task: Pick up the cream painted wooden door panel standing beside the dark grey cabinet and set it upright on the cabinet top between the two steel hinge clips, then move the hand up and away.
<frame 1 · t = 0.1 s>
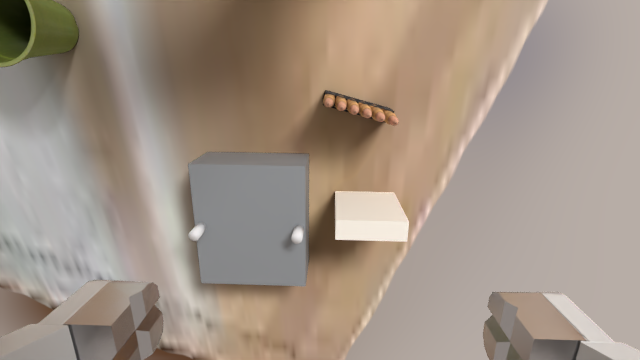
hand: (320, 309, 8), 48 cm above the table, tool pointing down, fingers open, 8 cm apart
plant pot: (58, 27, 52), on the table
ammunition clip: (356, 104, 54), on the table
door panel: (364, 199, 58), on the table
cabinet: (260, 208, 60), on the table
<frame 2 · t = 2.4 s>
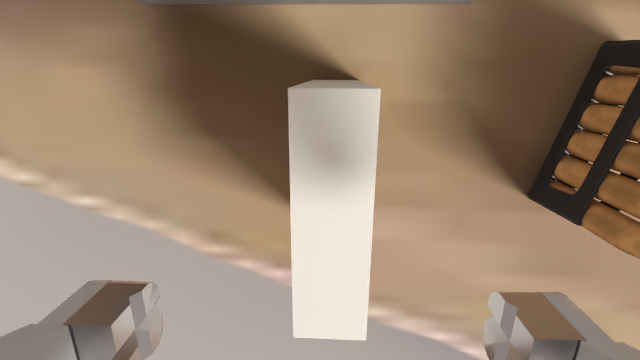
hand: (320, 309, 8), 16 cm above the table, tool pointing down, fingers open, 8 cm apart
ammunition clip: (573, 128, 23), on the table
door panel: (334, 153, 24), on the table
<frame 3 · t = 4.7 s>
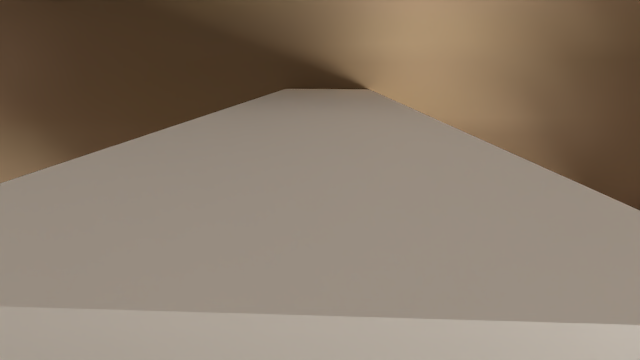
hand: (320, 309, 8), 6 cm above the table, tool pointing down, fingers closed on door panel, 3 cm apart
door panel: (325, 216, 14), on the table, touching gripper
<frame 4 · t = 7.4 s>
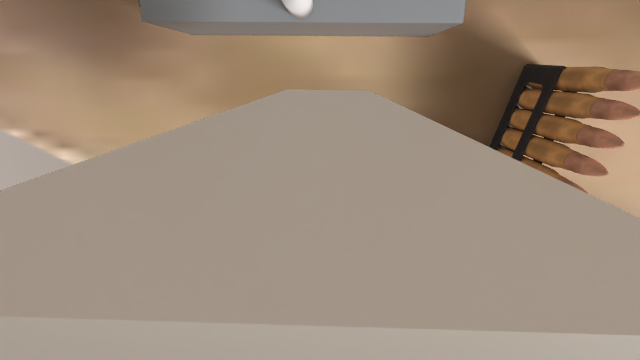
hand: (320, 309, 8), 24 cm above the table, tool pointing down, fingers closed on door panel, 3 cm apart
ammunition clip: (507, 127, 31), on the table
door panel: (325, 217, 14), point 18 cm above the table, touching gripper
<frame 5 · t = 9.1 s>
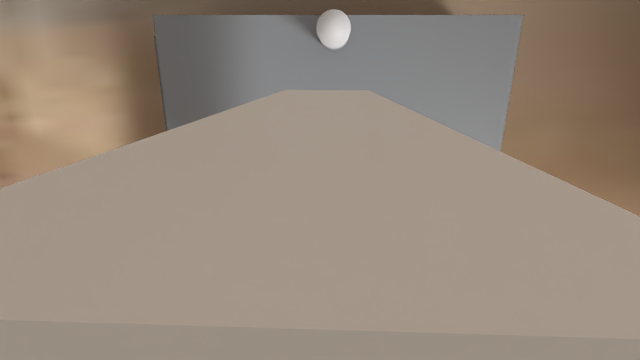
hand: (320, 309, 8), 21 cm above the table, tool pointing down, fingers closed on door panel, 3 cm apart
door panel: (325, 217, 14), point 16 cm above the table, touching gripper
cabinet: (332, 141, 29), on the table
when the fingers open (15 cm above the table, at t = 10.5 s): door panel stays where it is, resting on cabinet.
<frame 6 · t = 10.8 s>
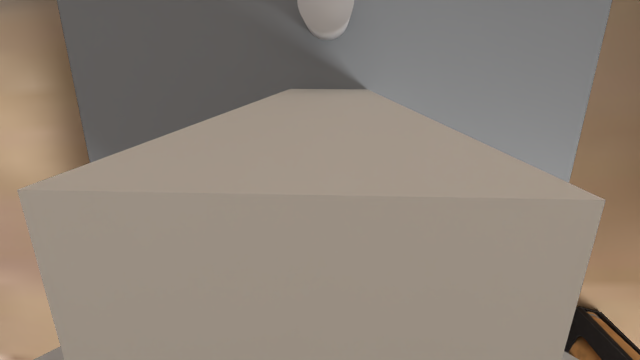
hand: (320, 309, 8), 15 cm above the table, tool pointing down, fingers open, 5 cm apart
door panel: (327, 208, 15), point 8 cm above the table, touching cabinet
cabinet: (327, 161, 22), on the table
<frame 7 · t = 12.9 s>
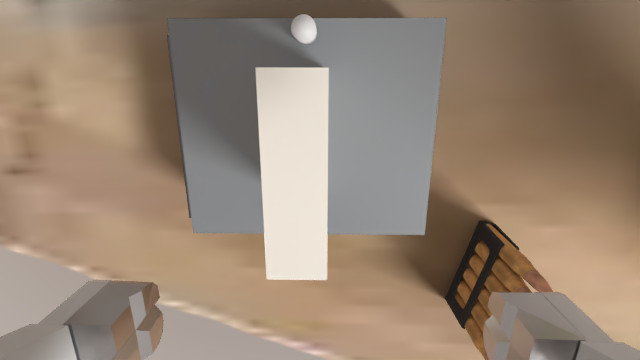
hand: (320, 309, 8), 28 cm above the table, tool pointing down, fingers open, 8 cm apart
ammunition clip: (468, 262, 39), on the table
door panel: (308, 136, 27), point 8 cm above the table, touching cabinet
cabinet: (311, 122, 34), on the table
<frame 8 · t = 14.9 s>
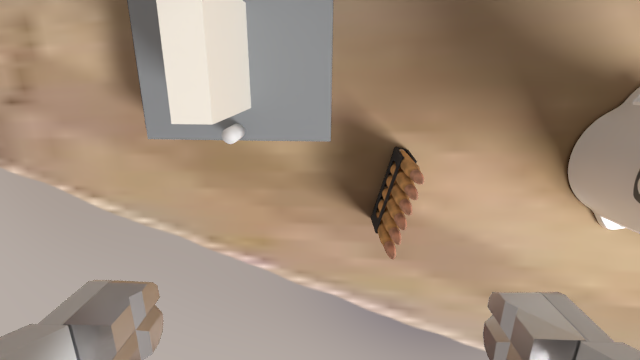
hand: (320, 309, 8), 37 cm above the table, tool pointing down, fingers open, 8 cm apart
ammunition clip: (388, 184, 46), on the table
door panel: (233, 57, 34), point 8 cm above the table, touching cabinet
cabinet: (251, 59, 42), on the table
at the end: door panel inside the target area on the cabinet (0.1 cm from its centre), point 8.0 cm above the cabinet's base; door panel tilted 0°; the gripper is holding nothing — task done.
